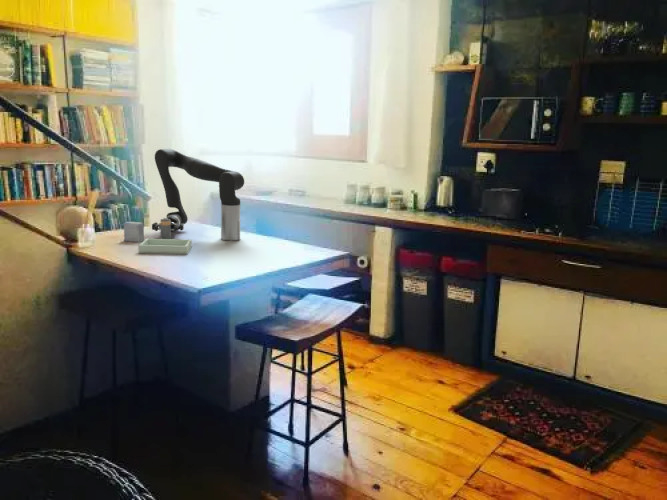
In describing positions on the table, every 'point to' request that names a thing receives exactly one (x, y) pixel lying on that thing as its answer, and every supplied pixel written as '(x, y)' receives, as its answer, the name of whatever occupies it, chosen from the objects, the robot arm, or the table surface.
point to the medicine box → (134, 231)
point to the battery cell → (165, 228)
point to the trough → (165, 246)
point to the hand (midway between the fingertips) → (165, 229)
